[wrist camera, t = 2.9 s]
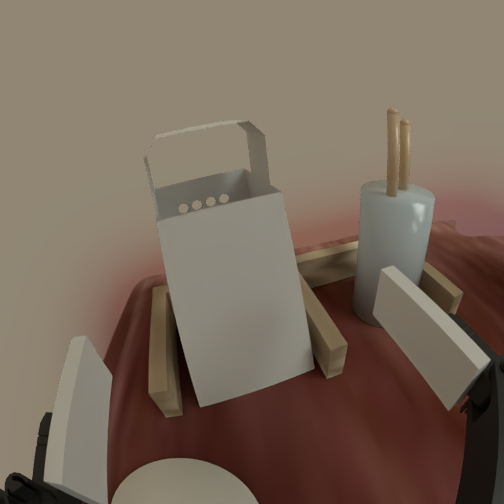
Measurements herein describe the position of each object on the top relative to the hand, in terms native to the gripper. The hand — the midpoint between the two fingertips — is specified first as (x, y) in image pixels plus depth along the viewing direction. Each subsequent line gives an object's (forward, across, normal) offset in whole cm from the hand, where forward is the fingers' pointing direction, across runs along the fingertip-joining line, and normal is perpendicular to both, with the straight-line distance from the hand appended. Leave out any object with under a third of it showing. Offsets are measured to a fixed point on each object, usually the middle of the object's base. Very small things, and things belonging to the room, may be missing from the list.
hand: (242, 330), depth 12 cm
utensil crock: (+10, +16, -12) cm, 23 cm away
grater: (+10, 0, -13) cm, 16 cm away
